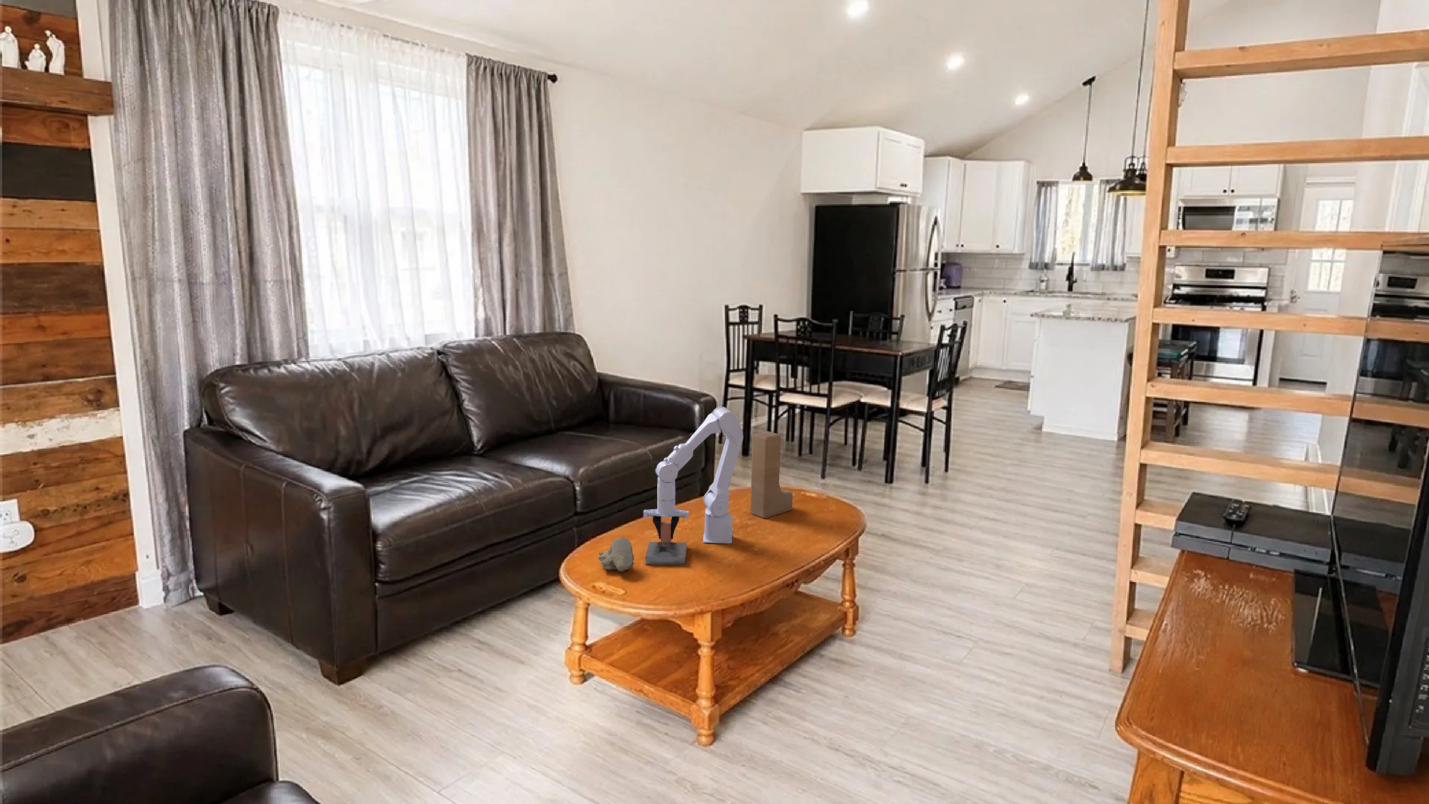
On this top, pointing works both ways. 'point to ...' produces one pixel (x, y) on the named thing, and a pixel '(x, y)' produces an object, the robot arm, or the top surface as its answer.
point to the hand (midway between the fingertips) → (666, 538)
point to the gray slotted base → (666, 553)
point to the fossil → (618, 555)
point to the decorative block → (767, 477)
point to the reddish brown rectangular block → (665, 531)
